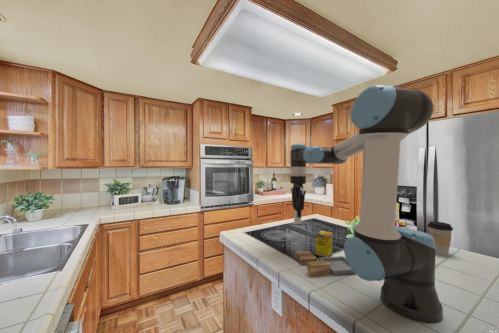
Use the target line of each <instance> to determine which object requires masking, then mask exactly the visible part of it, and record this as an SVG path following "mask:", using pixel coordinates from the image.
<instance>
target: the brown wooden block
mask: <svg viewBox="0 0 499 333" xmlns="http://www.w3.org/2000/svg"><path fill="white" fill-rule="evenodd" d="M294 252H295V254H294V255H295V256H294V258H295V259H296V260H297V261H298V263H299V264H300V265H301V266H308V262H315V261H318V258H317V256H316V255H314V254H313V253H312V252H311V251H309V250H308V251H294Z"/></svg>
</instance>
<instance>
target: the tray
mask: <svg viewBox="0 0 499 333" xmlns="http://www.w3.org/2000/svg"><path fill="white" fill-rule="evenodd" d="M318 261H327V262H329V263H330V264H331V265H330V275H331V276H333V277H340V276H341V277H342V276H352V275H353V276H354V275H356V274H355V273H354V271H353V270H352V269H351V268H350V266H349V264H348V262H347V260H346V257H345V255H340V256H339V255H338V256H331V257H318Z"/></svg>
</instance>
